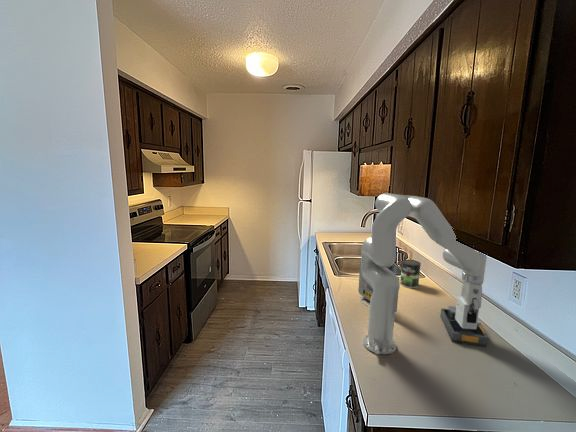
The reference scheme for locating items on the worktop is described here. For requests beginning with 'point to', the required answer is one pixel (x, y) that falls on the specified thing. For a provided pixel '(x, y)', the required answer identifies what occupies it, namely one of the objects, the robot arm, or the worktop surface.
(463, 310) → the small box
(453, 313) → the module
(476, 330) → the rack
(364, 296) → the network device
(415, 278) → the coffee can
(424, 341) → the worktop surface
